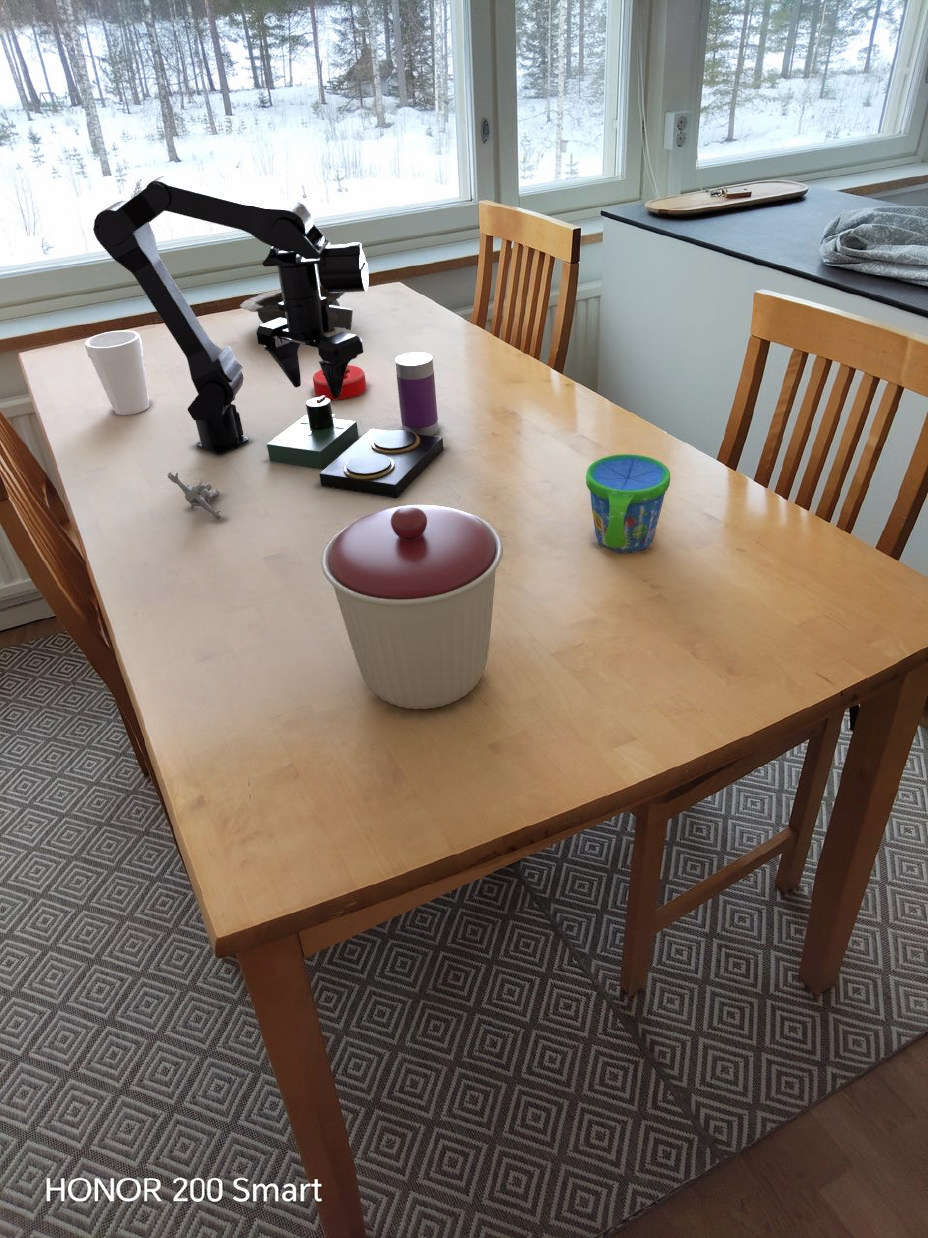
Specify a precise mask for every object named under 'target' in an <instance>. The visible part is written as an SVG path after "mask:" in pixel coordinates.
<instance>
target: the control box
mask: <svg viewBox="0 0 928 1238" xmlns="http://www.w3.org/2000/svg"><path fill="white" fill-rule="evenodd" d="M335 415H336V414H335V413H334V414H333V413H332V416H333V422H334V424H333V425H332V426H331V427H329V428H327V429H322V430H316V429H312V428H310V426H309V420H308V414H305V415H303V416H302V417H300V418H299V419H298V420H296V421H294V422H293V424H291V425H290V426H289V427H287V428H286V429H284V430H283V431H282V432H280V433H279V434H278V435H277V436H275V437H274V438H273V439H271V440H270V441H269V442H267V443H266V448H267V453H268V454H267V455H268V458H269V462H275V463H281V464H288V465H293V466H294V465H295V466H301V467H309V468H313V469H314V468H315V469H321V470H324V469H325V468H326V467H327V466H328V465H330V464H331V463H332V462H333V461H334V460H335V459H337V458H338V457H339V456H340V455H341V454H342V453H344V452H345V451H346V450H347V449H348V448H349V447H350V446H352V445H353V444H354V443H355V442H356V441H357V440H359V439H360V436H359V427H358V421H357V420H351V419H350V420H348V419H341V418H335Z"/></svg>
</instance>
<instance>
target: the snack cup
mask: <svg viewBox="0 0 928 1238" xmlns="http://www.w3.org/2000/svg"><path fill="white" fill-rule="evenodd" d="M670 483H671V471H670V470H669V468H668V466H667V465H666V464H664V463H663V462H662V461H660V460H658V459H656V458H653V457H650V456H647V455H641V454H632V453H622V454H621V453H619V454H612V455H608V456H605V457H601V458H599V459H597V460H595V461H594V462H592V463H591V464H590V465H589V466H588V468H587V469H586V474H585V485H586V487H587V489H588V490H589V493H590V495H589V496H590V504H591V513H592V518H593V526H594V535H595V537H596V540H597V544H598V546H603V547H604V548H606V549H607V550H609V551H612V552H616V553H618V554H623V553H636V552H639V551H642V550H646V549H648V548H649V547H650V545H651V544H652V542H653V540H654V538H655V533H656V531H657V526H658V523H659V519H660V515H661V512H662V507H663V504H664V500H665V494H666V492H667V491H668V489H669V488H670Z"/></svg>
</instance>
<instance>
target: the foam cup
mask: <svg viewBox="0 0 928 1238" xmlns="http://www.w3.org/2000/svg"><path fill="white" fill-rule="evenodd" d="M83 344H84V347H85V350H86V352H87V353H86V354H87V357H88V358H89V359H90V361H91V363H92V365H93V367H94V369H95V372H96V374H97V377H98V378H99V380H100V383H101V385H102V388H103V390H104V392H105V394H106V396H107V398H108V400H109V403H110V405H111V408H112V409H113V412H114V413H115V414H116V415H121V416H130V415H135V414H140V413H141V412H144V411H146V410H147V409H149V407H150V399H149V391H148V384H147V383H148V382H147V376H146V368H145V361H144V354H143V353H144V352H143V348H144V346H143V342H142V339H141V335H140V334H139V333H138V332H137V331H135V330H129V329H127V330H126V329H123V330H121V329H119V330H112V331H106V332H102V333H99V334H96V335H95V334H94V335H93V336H91V337H89V338H87V339H86V340H85V342H84V343H83Z"/></svg>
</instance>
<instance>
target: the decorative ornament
mask: <svg viewBox="0 0 928 1238" xmlns="http://www.w3.org/2000/svg"><path fill="white" fill-rule="evenodd" d="M366 381H367V380H366V374H365V370H364V369H363V368H361V367H359V366H356V365H352V364H348V365H347V368H346V371H345V375H344V380H343V384H342V389H341V394H340V397H339V398H337V399H334V398H333V396H332V394H331V392H330V389H329V387H328V384H327V382H326V379H325V376H324V374H323V371H322V369H320V370H317V371H316V372H315V373H314V374H313V376H312V383H313V388H314V394H315V396H317V397H321V396H325V398H328V399H330V401H339V400H346V399H347V400H348V399H351V398H352V399H353V398H355V397H357V396H360V395H362V394H363V393H365V391H366V390H367V382H366Z"/></svg>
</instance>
